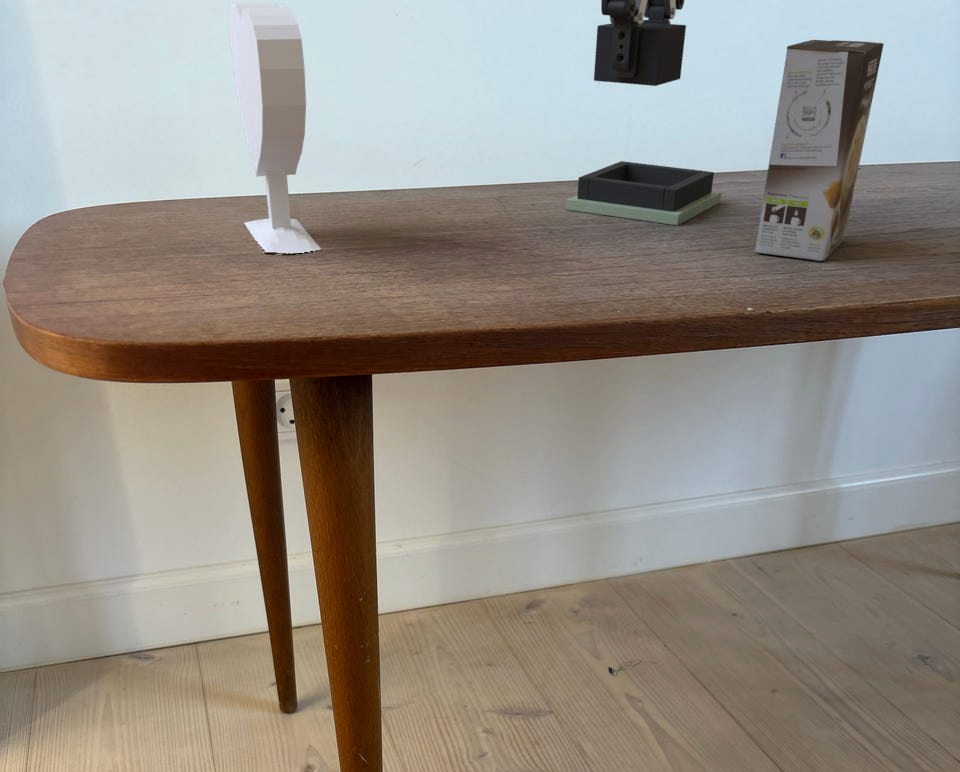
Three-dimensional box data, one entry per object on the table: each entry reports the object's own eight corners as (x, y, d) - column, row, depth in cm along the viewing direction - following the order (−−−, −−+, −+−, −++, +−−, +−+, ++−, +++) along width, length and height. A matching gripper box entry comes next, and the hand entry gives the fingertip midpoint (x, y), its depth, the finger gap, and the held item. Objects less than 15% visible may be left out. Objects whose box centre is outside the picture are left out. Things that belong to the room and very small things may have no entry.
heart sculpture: (326, 255, 91) (310, 12, 80) (268, 259, 89) (244, 13, 79) (292, 214, 103) (274, -1, 92) (240, 218, 101) (217, -1, 91)
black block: (680, 79, 90) (686, 25, 87) (656, 86, 86) (661, 29, 83) (619, 74, 92) (624, 21, 90) (593, 80, 88) (597, 25, 86)
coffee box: (826, 263, 91) (867, 50, 81) (752, 253, 93) (784, 45, 84) (845, 239, 97) (885, 41, 88) (776, 231, 100) (808, 37, 91)
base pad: (720, 202, 110) (724, 171, 108) (677, 225, 101) (681, 192, 99) (615, 188, 115) (617, 159, 113) (565, 209, 106) (567, 177, 104)
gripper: (673, -189, 72) (647, 86, 82) (739, -174, 83) (709, 68, 92) (575, -187, 75) (561, 79, 85) (650, -173, 86) (630, 62, 95)
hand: (638, 72), depth 89 cm, fingers closed on black block, 5 cm apart
